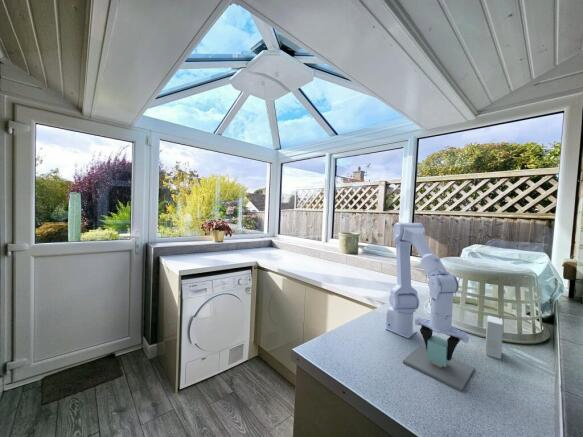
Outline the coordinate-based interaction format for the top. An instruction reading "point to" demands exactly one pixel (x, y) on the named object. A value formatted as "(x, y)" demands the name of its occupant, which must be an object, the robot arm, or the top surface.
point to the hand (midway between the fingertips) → (438, 354)
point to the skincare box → (494, 336)
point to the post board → (440, 368)
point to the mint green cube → (437, 350)
